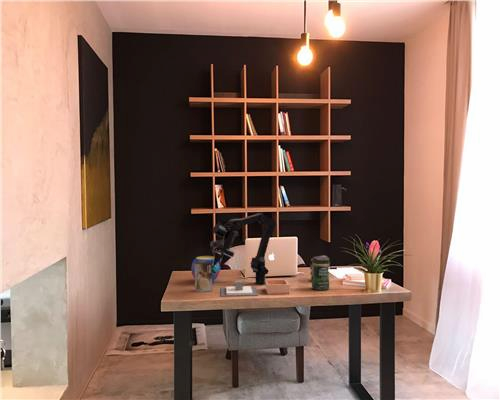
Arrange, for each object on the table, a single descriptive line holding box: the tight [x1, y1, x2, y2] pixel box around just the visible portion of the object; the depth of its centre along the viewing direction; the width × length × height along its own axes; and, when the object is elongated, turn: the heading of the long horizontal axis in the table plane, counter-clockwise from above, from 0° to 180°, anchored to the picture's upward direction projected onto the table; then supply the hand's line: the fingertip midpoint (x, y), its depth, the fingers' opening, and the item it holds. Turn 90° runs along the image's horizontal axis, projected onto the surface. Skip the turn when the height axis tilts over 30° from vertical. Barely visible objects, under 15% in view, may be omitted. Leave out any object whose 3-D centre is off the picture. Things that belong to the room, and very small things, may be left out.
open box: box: [264, 279, 290, 295], centre depth 235 cm, size 12×12×5 cm
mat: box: [220, 286, 259, 297], centre depth 233 cm, size 17×20×1 cm
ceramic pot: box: [191, 255, 221, 282], centre depth 257 cm, size 18×18×15 cm
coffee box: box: [194, 261, 213, 293], centre depth 236 cm, size 9×6×16 cm
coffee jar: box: [311, 255, 331, 291], centre depth 239 cm, size 10×8×19 cm
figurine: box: [309, 255, 330, 280], centre depth 259 cm, size 9×12×15 cm
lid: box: [225, 280, 253, 295], centre depth 233 cm, size 14×14×6 cm
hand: (217, 265), depth 235 cm, fingers open, 9 cm apart
